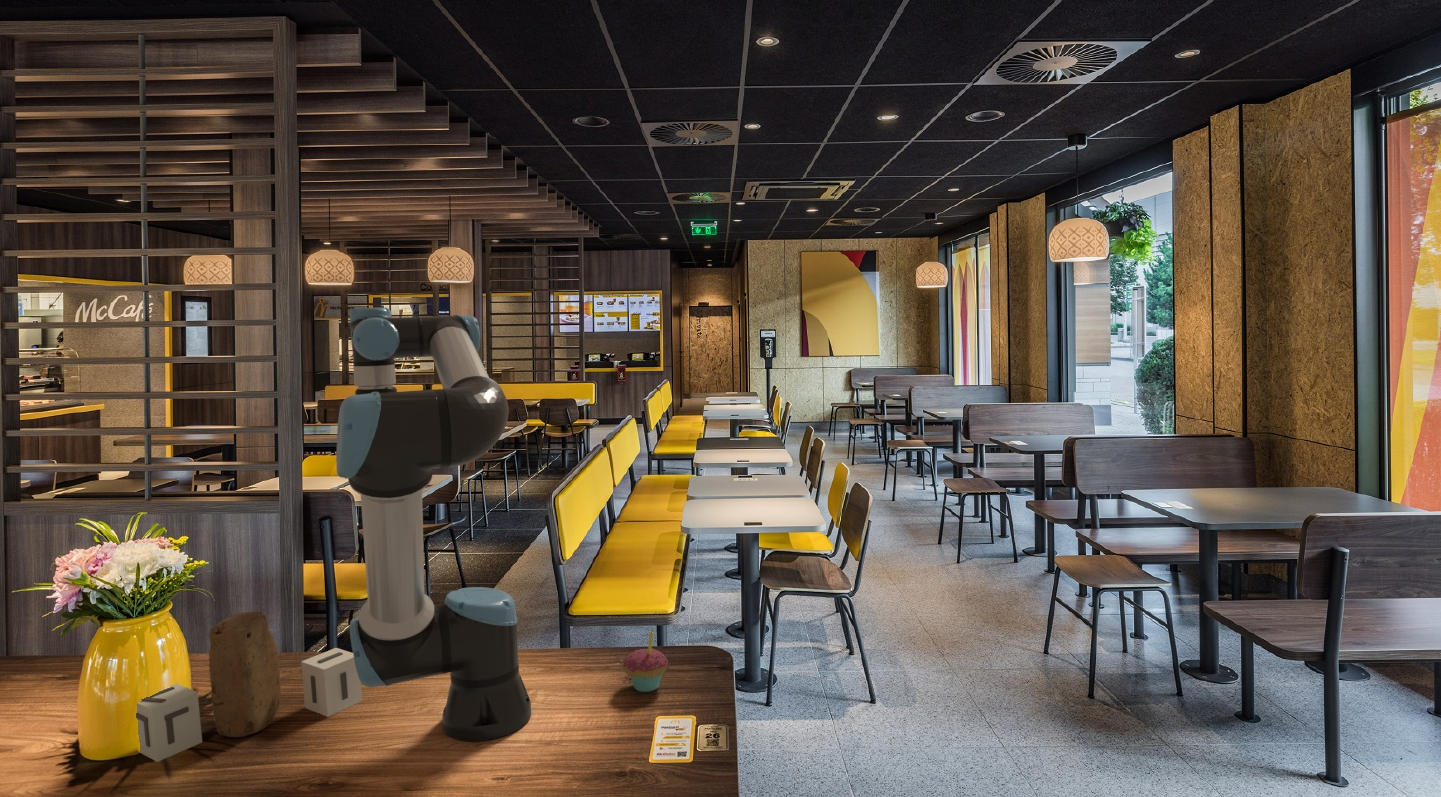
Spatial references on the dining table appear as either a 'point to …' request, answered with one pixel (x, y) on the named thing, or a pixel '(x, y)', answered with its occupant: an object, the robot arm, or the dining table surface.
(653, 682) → the cupcake
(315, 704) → the numbered cube one
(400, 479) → the robot arm
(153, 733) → the numbered cube seven
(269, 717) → the block
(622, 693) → the dining table surface
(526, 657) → the dining table surface
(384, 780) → the dining table surface
